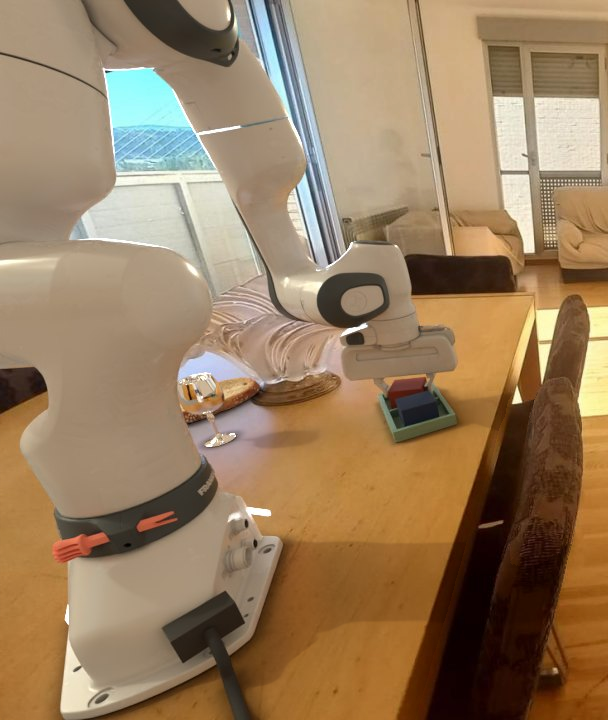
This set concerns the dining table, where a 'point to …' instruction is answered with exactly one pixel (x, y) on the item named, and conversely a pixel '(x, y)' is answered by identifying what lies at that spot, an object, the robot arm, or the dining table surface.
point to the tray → (418, 429)
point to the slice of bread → (229, 396)
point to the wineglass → (203, 402)
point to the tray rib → (395, 412)
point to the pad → (417, 408)
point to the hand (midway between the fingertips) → (409, 394)
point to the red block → (405, 389)
